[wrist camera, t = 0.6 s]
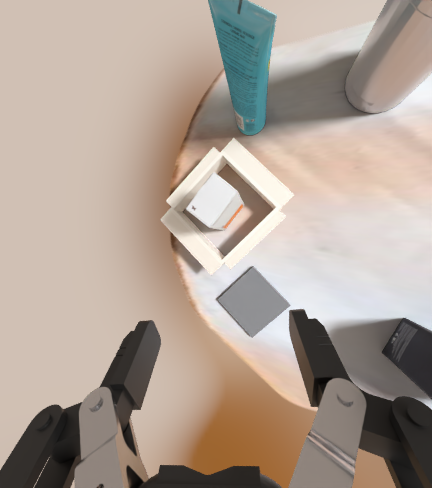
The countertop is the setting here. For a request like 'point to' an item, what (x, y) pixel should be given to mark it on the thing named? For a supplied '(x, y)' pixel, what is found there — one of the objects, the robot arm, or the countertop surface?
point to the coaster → (253, 302)
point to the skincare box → (216, 203)
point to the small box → (412, 353)
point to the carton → (187, 190)
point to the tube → (245, 57)
